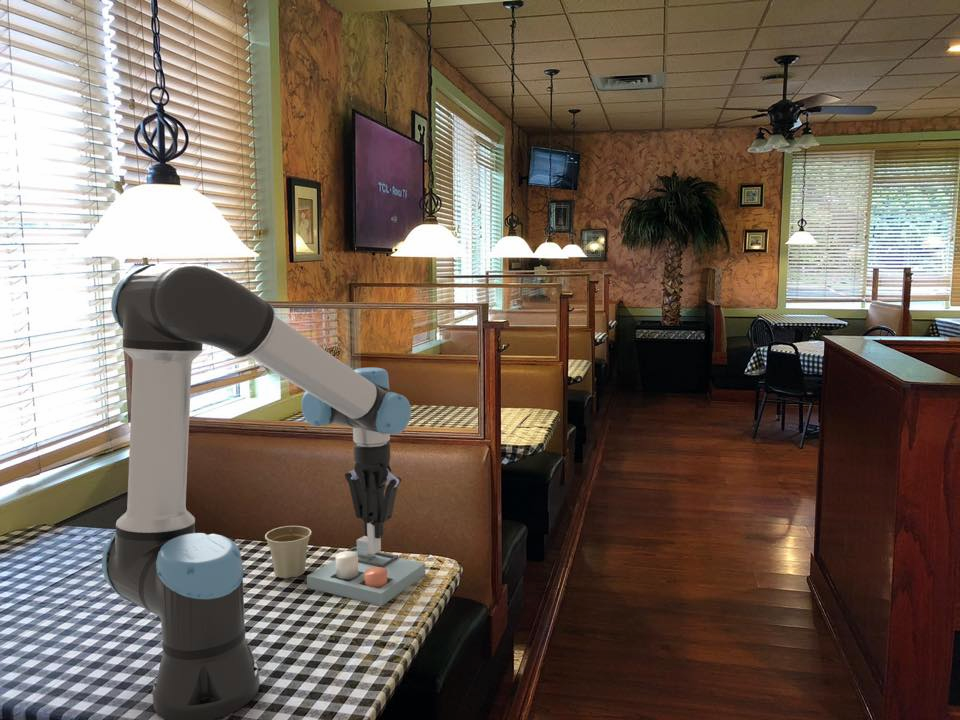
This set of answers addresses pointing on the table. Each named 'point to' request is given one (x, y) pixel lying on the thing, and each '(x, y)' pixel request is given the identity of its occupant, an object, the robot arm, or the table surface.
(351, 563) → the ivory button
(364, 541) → the grey stone cube
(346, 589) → the panel
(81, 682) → the table surface
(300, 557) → the flower pot
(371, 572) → the salmon orange egg
